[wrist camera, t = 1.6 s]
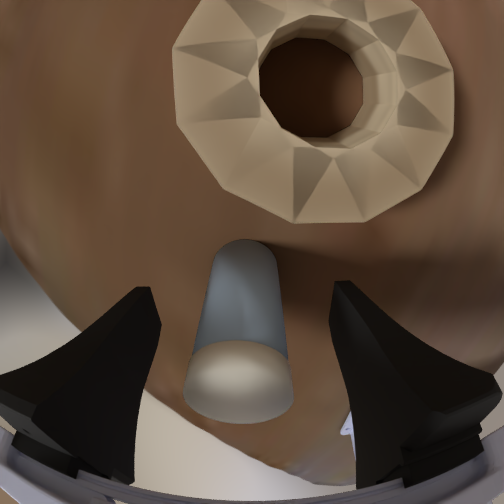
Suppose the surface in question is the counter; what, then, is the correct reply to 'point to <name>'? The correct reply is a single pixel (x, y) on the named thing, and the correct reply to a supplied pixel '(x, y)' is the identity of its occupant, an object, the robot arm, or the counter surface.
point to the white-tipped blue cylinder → (241, 340)
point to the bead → (314, 148)
